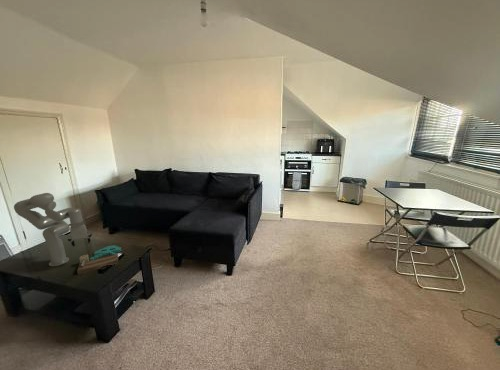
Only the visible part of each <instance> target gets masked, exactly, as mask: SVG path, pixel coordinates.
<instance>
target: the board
mask: <svg viewBox="0 0 500 370" xmlns="http://www.w3.org/2000/svg"><path fill="white" fill-rule="evenodd" d="M117 263H118V264H119V254H117V253H116V254H115V255H108V256H103V257H98V258H96V259H94V260H91V261H90V260H89V261H87V262H84V266H83V267H81V264H82V263H80V262H79V264H78V266H77V271H76V272H77V275H81V274H85V273H89V272H92V271H96V270H100V269H99V268H101V267H103V266H106V265H112V266H115V265H118V264H117ZM114 264H115V265H114ZM101 269H102V268H101Z"/></svg>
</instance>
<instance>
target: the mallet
mask: <svg viewBox="0 0 500 370" xmlns="http://www.w3.org/2000/svg"><path fill="white" fill-rule="evenodd" d="M87 261H90V257H89V254H84V255H81V256H80V257H79V264H80V263H82V264H81V267H83V266H84V262H87Z"/></svg>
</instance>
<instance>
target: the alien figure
mask: <svg viewBox="0 0 500 370" xmlns="http://www.w3.org/2000/svg"><path fill="white" fill-rule="evenodd" d="M121 251H122V247H120V246H118V245H115V244H114V245H108V246H105V247H103V248H100V249H98V250H96V251H94V253H93V255H94V256H93V257H89V261H91V260H95V259H99V258H102V256H106V255H109V256H111V255H115V254H118V253H119V252H121ZM117 252H118V253H117ZM118 255H119V254H118Z"/></svg>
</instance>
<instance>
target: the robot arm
mask: <svg viewBox="0 0 500 370" xmlns="http://www.w3.org/2000/svg"><path fill="white" fill-rule="evenodd" d="M56 207H57V203H56V201H55V197H54V194H52V193H50V192H44V193H39V194H35V195H33V196H31V197H29V198H27V199H23V200H20V201H18V202H16V203H15V204H14V205H13V209H14V211H15V213H16V214H17V215H18V216H19V217H21V218H23V219H25V220H26V221H28V223H30V225H32V226H34V227H35V229H37V230H41V231H42V233H41V234H42V237H43V239H44V241H45V243H46V247H47V250H48V254H49V255H48V256H49V259H50V261H49V263H48V265H49V266H50V267H58V266H61V265H63V264H66V263H68V261H70V257H68V256H67V255H66V250H65V246H64V241H63V240H62V238H60V236H63V235H65V234H67V233H69V232H70V233H69V234H68V235H67V236H65V239H66V240H67V241H68V242H70V243H71V246H72V247H75V246H76V243H75V240H79V239H84V238H87V243H88V244H90V243H91V237H92V236H93V233H94V231H92V230H88V229H87V226H86V225H85V223H84V219H83V215H82V211H81V208H74V207H67V208H64V209H61V210H58V211H56V210H55V209H56ZM36 208H37V209H38V208H39V209H42V211H43V210H44V213H45V215H42V214H41V213H40V212H38V211H36V210H33V209H36ZM67 219H69V222H70V223H69V224H68V223H67V221H65V220H67Z"/></svg>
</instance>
